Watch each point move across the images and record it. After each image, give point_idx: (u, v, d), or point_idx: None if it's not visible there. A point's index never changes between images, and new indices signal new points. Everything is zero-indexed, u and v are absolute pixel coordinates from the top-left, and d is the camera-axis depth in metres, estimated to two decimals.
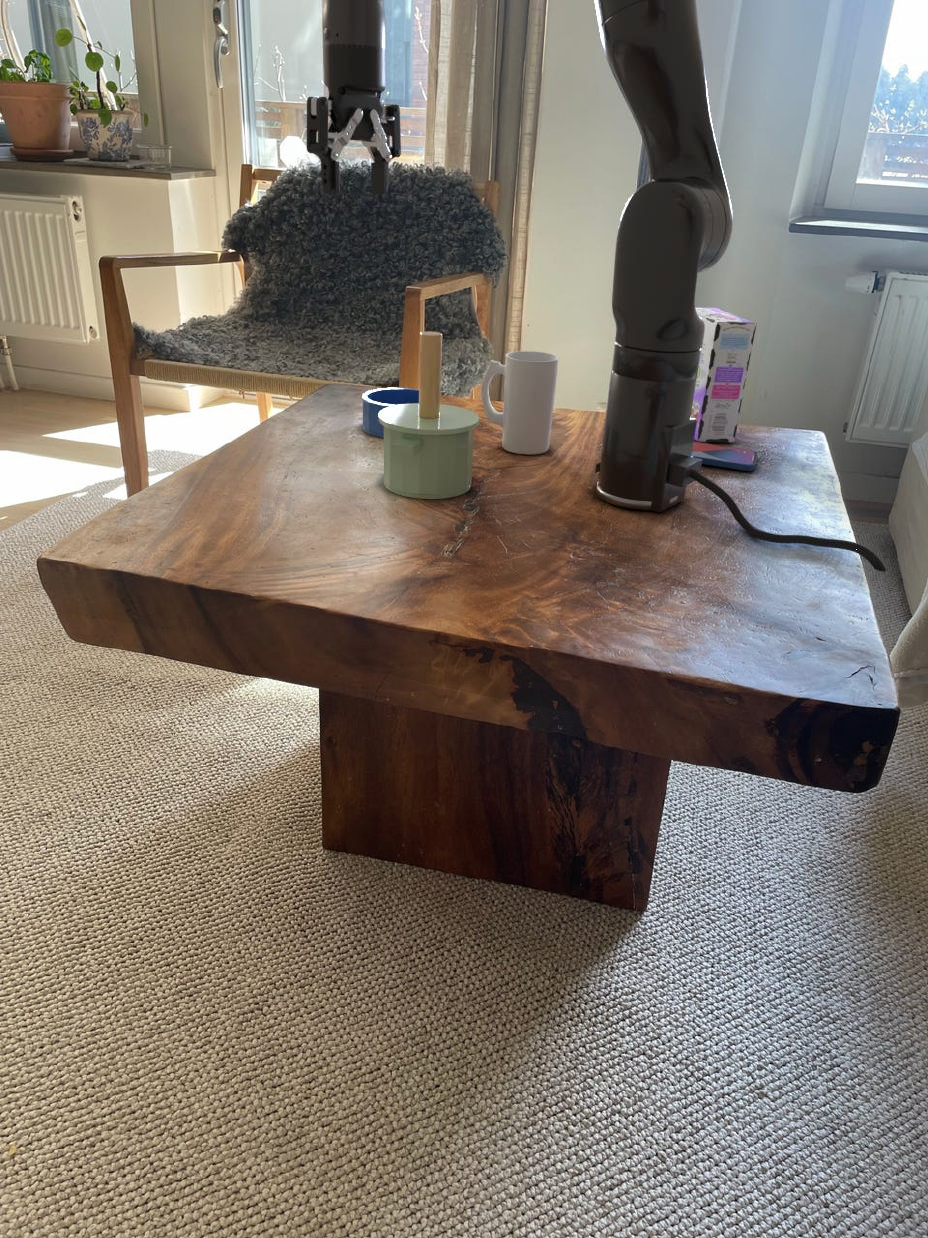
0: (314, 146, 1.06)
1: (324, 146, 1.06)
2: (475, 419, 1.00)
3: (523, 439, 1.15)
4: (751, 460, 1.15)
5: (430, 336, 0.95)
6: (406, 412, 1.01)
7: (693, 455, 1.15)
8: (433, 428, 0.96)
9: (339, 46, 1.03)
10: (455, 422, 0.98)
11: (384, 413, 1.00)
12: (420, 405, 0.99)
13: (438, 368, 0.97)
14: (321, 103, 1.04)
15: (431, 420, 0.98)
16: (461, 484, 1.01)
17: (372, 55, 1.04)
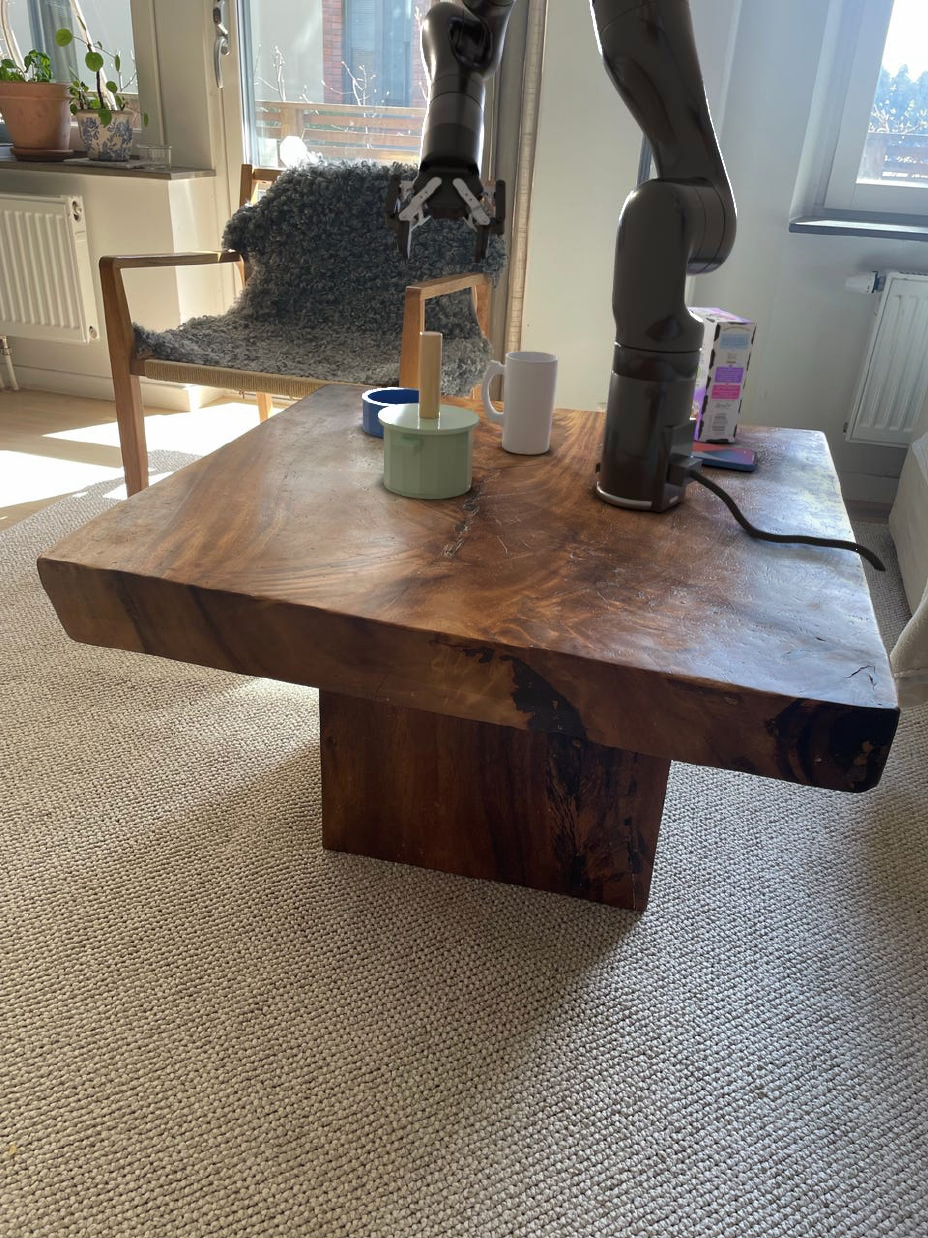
0: None
1: (389, 208, 1.04)
2: (475, 419, 1.00)
3: (523, 439, 1.15)
4: (751, 460, 1.15)
5: (430, 336, 0.95)
6: (406, 412, 1.01)
7: (693, 455, 1.15)
8: (433, 428, 0.96)
9: (422, 140, 1.07)
10: (455, 422, 0.98)
11: (384, 413, 1.00)
12: (420, 405, 0.99)
13: (438, 368, 0.97)
14: (391, 179, 1.05)
15: (431, 420, 0.98)
16: (461, 484, 1.01)
17: (444, 128, 1.04)
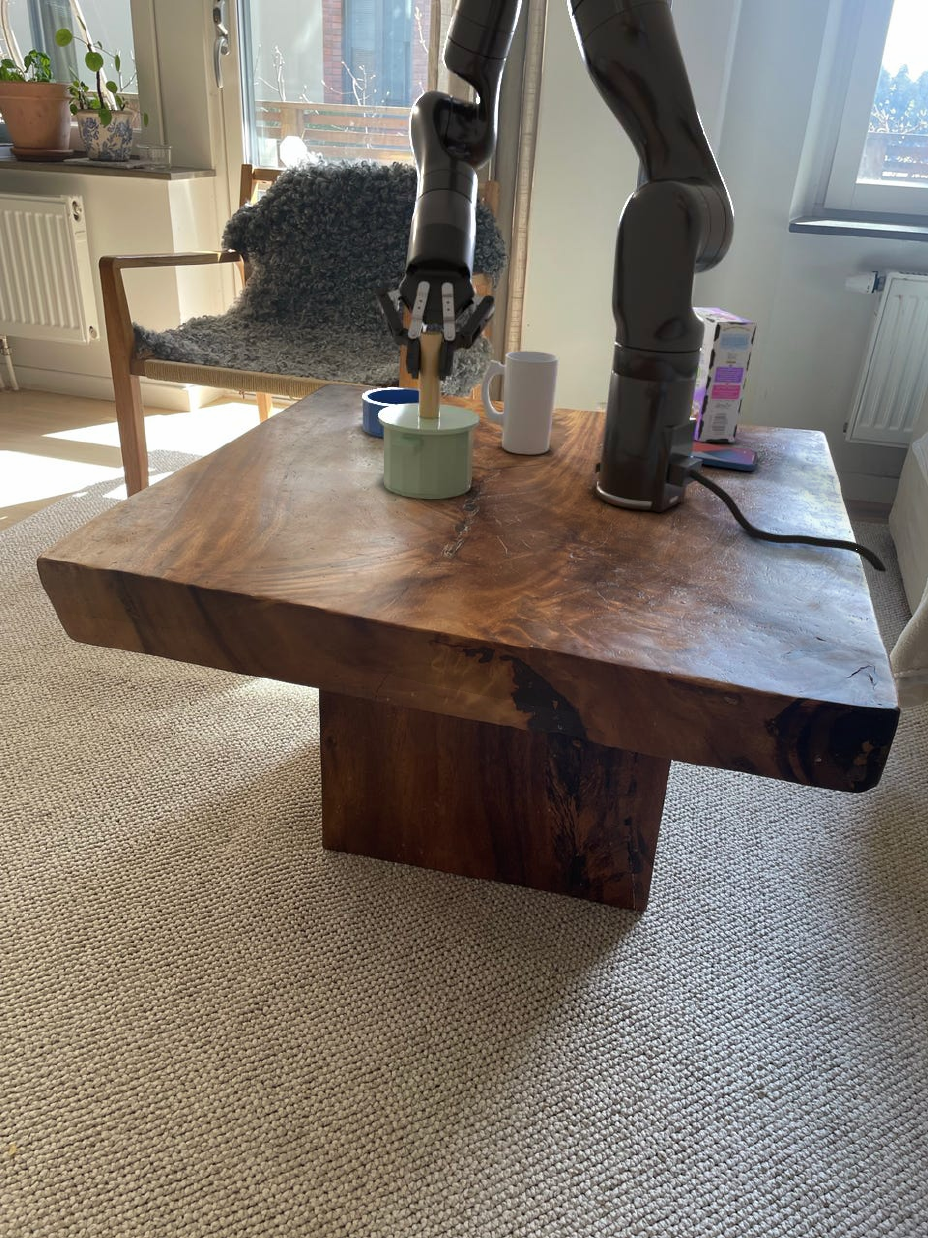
0: None
1: (397, 325, 0.97)
2: (475, 419, 1.00)
3: (523, 439, 1.15)
4: (751, 460, 1.15)
5: (430, 336, 0.95)
6: (406, 412, 1.01)
7: (693, 455, 1.15)
8: (433, 428, 0.96)
9: (409, 239, 1.00)
10: (455, 422, 0.98)
11: (384, 413, 1.00)
12: (420, 405, 0.99)
13: (438, 368, 0.97)
14: (379, 296, 0.98)
15: (431, 420, 0.98)
16: (461, 484, 1.01)
17: (433, 229, 0.97)
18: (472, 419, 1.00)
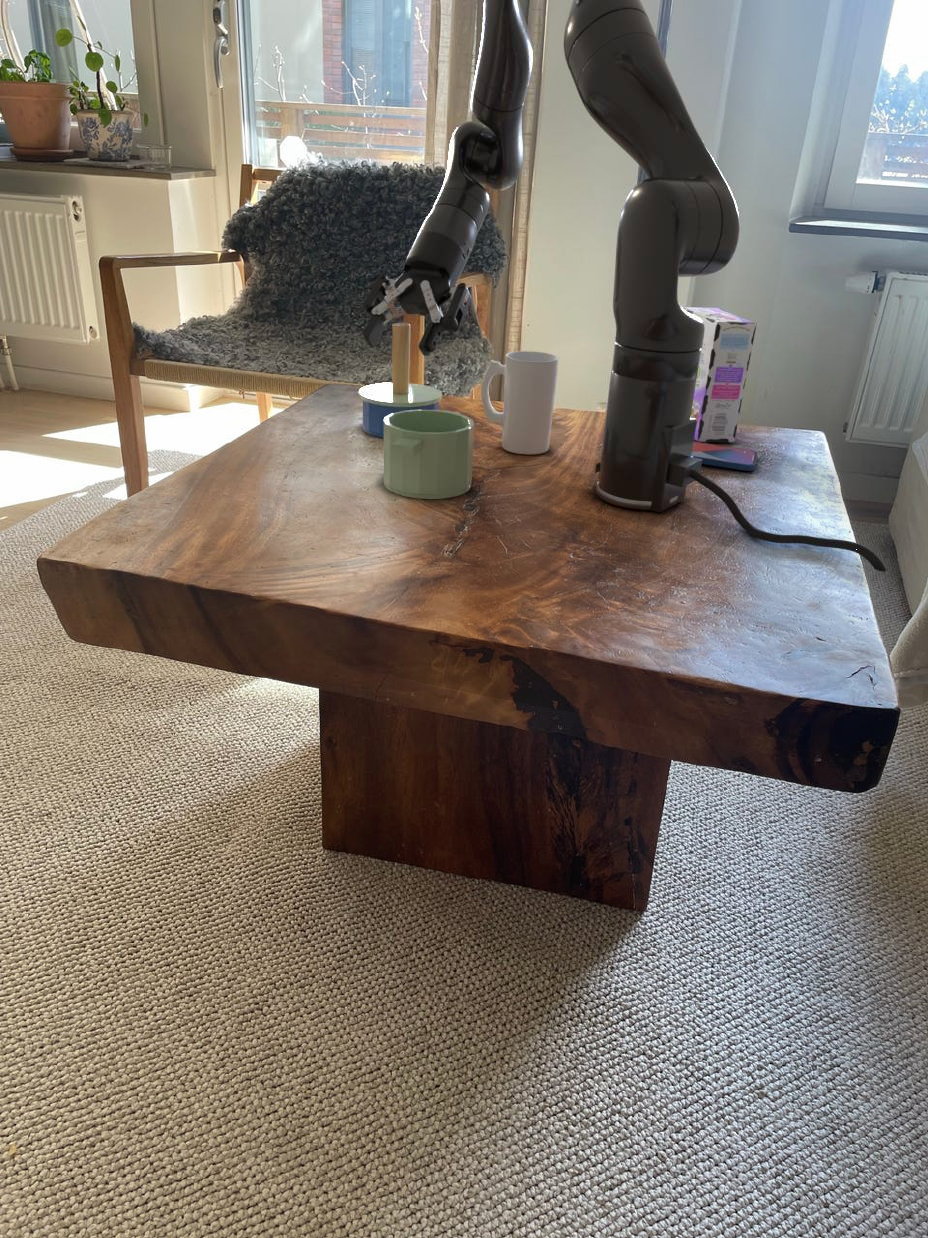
0: None
1: (366, 303, 1.21)
2: (432, 398, 1.19)
3: (523, 439, 1.15)
4: (751, 460, 1.15)
5: (396, 326, 1.17)
6: (387, 388, 1.24)
7: (693, 455, 1.15)
8: (386, 400, 1.18)
9: None
10: (411, 398, 1.19)
11: (369, 386, 1.24)
12: (392, 382, 1.21)
13: (404, 353, 1.19)
14: (379, 277, 1.22)
15: (395, 395, 1.20)
16: (461, 484, 1.01)
17: (424, 236, 1.18)
18: (429, 398, 1.20)
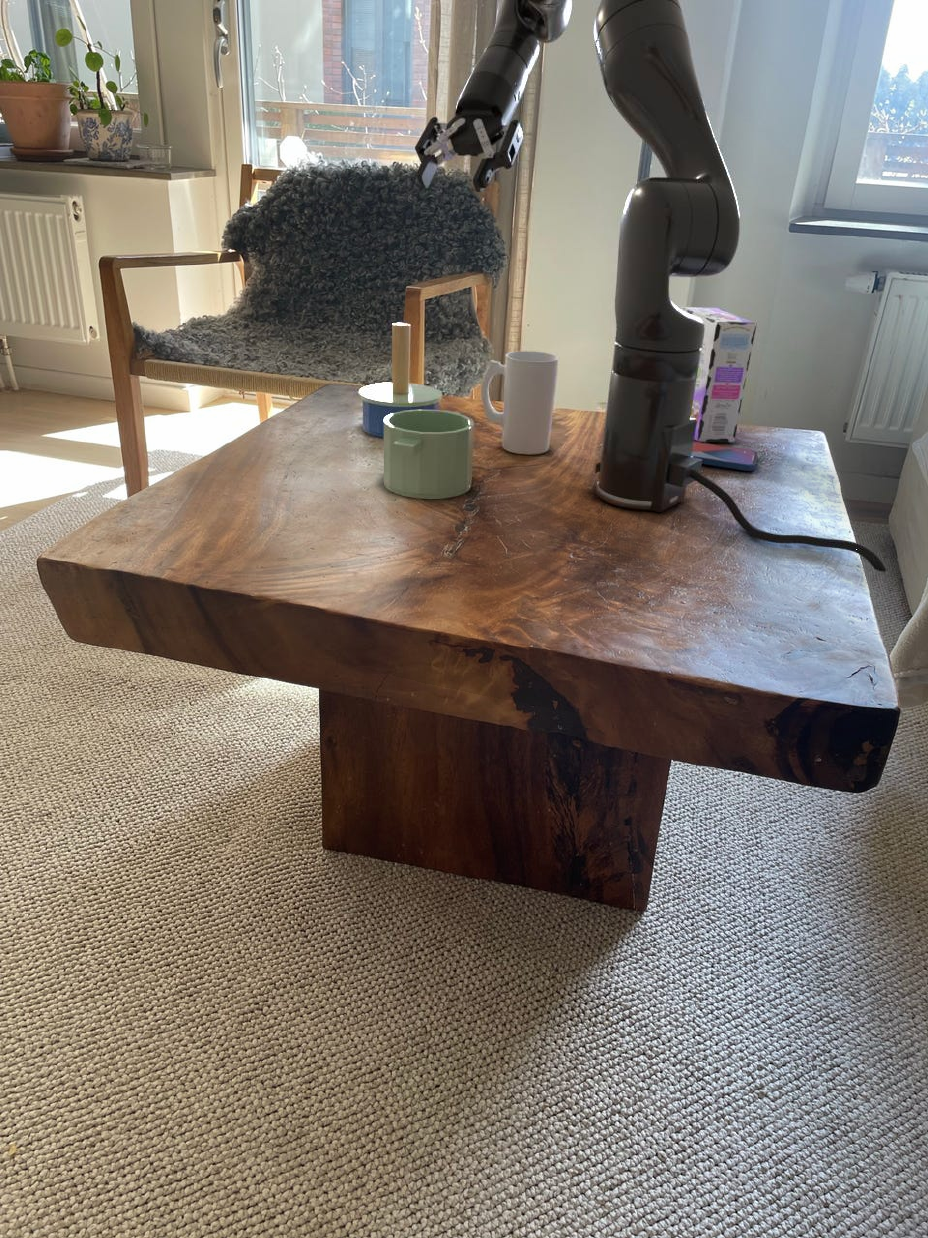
0: None
1: (418, 145, 1.22)
2: (432, 398, 1.19)
3: (523, 439, 1.15)
4: (751, 460, 1.15)
5: (396, 326, 1.17)
6: (387, 388, 1.24)
7: (693, 455, 1.15)
8: (386, 400, 1.18)
9: None
10: (411, 398, 1.19)
11: (369, 386, 1.24)
12: (392, 382, 1.21)
13: (404, 353, 1.19)
14: (430, 121, 1.23)
15: (395, 395, 1.20)
16: (461, 484, 1.01)
17: (477, 76, 1.20)
18: (429, 398, 1.20)
